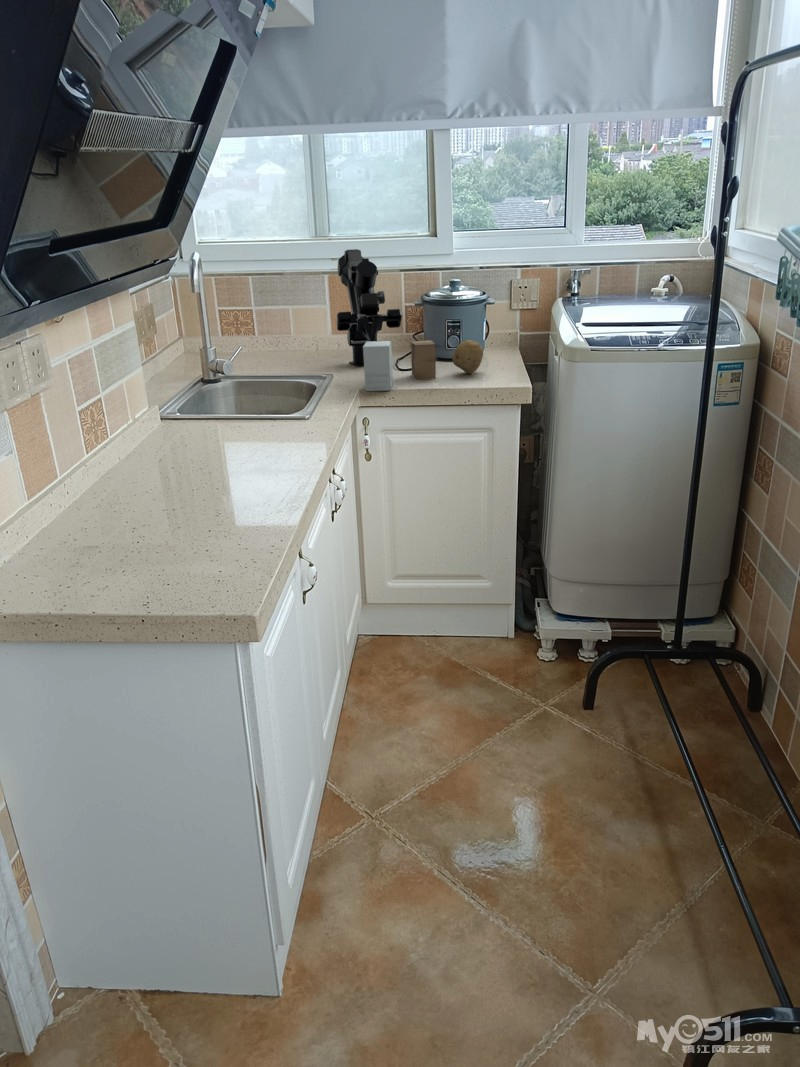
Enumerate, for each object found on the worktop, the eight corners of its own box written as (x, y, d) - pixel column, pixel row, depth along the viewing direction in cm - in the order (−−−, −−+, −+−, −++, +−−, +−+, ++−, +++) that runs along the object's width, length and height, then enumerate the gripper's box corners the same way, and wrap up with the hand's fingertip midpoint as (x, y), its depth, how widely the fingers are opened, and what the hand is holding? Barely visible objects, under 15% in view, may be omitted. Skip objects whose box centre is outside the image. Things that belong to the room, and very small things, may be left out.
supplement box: (393, 385, 239) (392, 340, 234) (390, 391, 232) (389, 345, 227) (368, 385, 240) (366, 340, 235) (364, 391, 233) (362, 345, 228)
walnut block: (411, 375, 250) (411, 341, 246) (431, 373, 251) (430, 340, 247) (415, 379, 245) (415, 345, 241) (435, 378, 246) (435, 344, 242)
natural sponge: (451, 377, 246) (451, 343, 242) (453, 370, 254) (453, 337, 250) (482, 377, 245) (483, 343, 241) (483, 370, 253) (483, 337, 249)
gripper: (335, 283, 236) (342, 329, 231) (400, 279, 239) (408, 325, 234) (333, 307, 247) (340, 352, 241) (395, 304, 250) (403, 348, 244)
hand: (373, 344), depth 240 cm, fingers closed
